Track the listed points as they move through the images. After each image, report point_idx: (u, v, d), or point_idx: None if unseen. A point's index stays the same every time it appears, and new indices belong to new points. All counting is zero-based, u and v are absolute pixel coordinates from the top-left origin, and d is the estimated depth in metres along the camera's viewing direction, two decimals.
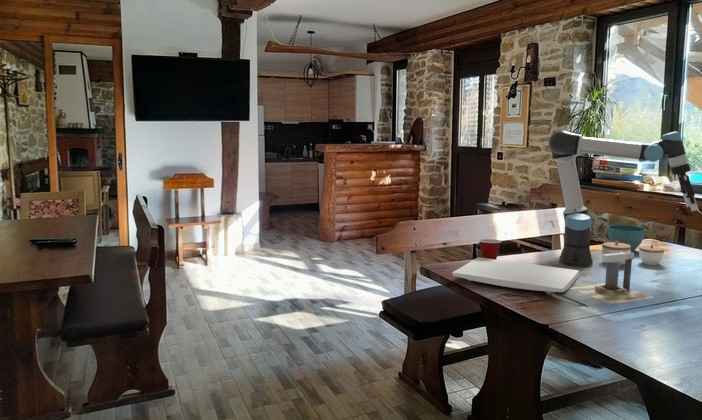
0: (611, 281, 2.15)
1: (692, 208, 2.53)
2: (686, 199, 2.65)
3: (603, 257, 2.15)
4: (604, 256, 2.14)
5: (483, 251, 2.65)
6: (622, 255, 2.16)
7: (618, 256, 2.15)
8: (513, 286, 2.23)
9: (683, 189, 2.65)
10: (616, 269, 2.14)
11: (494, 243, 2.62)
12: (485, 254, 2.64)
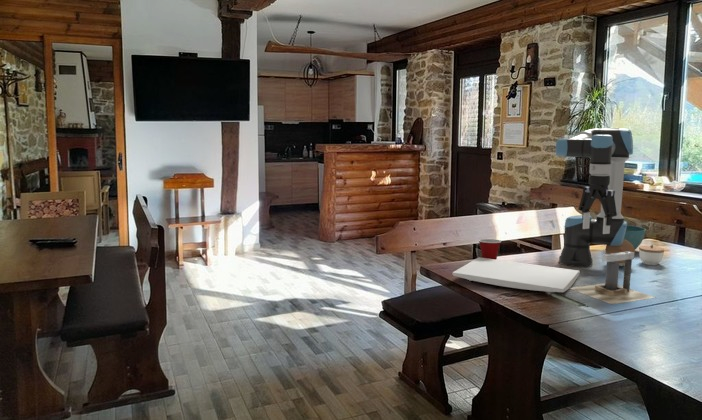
0: (611, 281, 2.15)
1: None
2: None
3: (603, 257, 2.15)
4: (604, 256, 2.14)
5: (483, 251, 2.65)
6: (622, 255, 2.16)
7: (618, 256, 2.15)
8: (513, 286, 2.23)
9: None
10: (616, 269, 2.14)
11: (494, 243, 2.62)
12: (485, 254, 2.64)
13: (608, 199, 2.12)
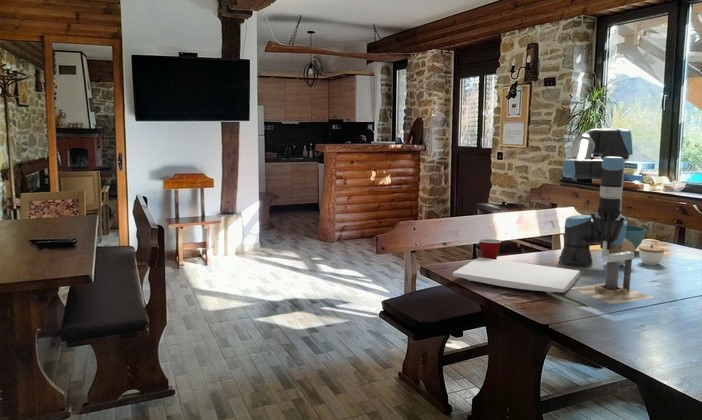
0: (611, 281, 2.15)
1: None
2: None
3: (604, 257, 2.14)
4: (605, 256, 2.14)
5: (483, 251, 2.65)
6: (622, 255, 2.16)
7: (619, 256, 2.15)
8: (514, 286, 2.23)
9: None
10: (616, 269, 2.14)
11: (494, 243, 2.62)
12: (485, 254, 2.64)
13: (618, 225, 2.10)
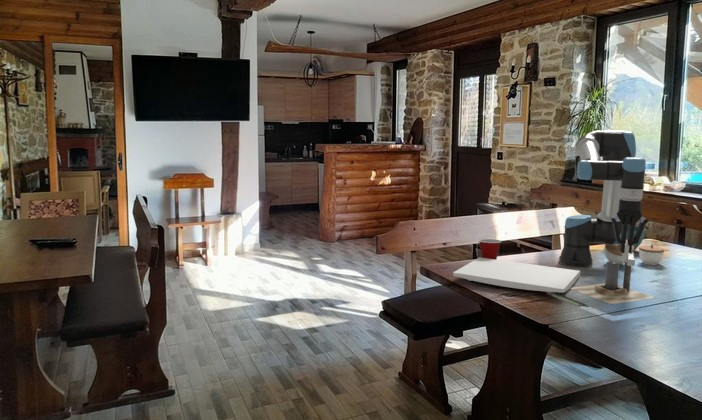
0: (611, 281, 2.15)
1: (622, 257, 2.11)
2: None
3: (629, 262, 2.07)
4: (631, 260, 2.07)
5: (483, 251, 2.65)
6: None
7: None
8: (514, 286, 2.23)
9: (628, 235, 2.09)
10: (616, 269, 2.14)
11: (494, 243, 2.62)
12: (485, 254, 2.64)
13: (642, 227, 2.06)
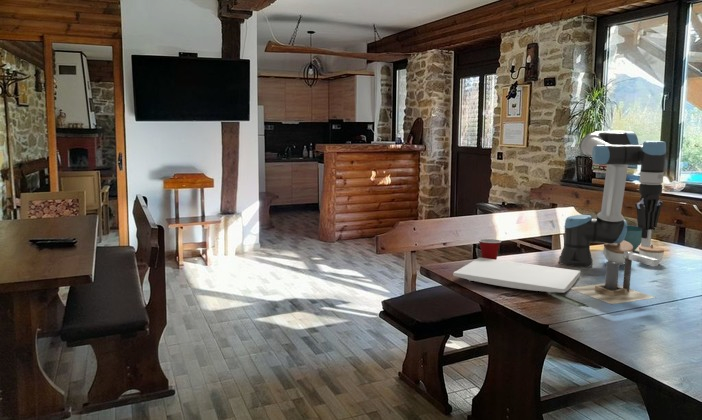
0: (611, 281, 2.15)
1: (642, 243, 2.07)
2: None
3: (655, 262, 2.07)
4: (656, 261, 2.07)
5: (483, 251, 2.65)
6: None
7: None
8: (514, 286, 2.23)
9: None
10: (616, 269, 2.14)
11: (494, 243, 2.62)
12: (485, 254, 2.64)
13: (659, 209, 2.06)
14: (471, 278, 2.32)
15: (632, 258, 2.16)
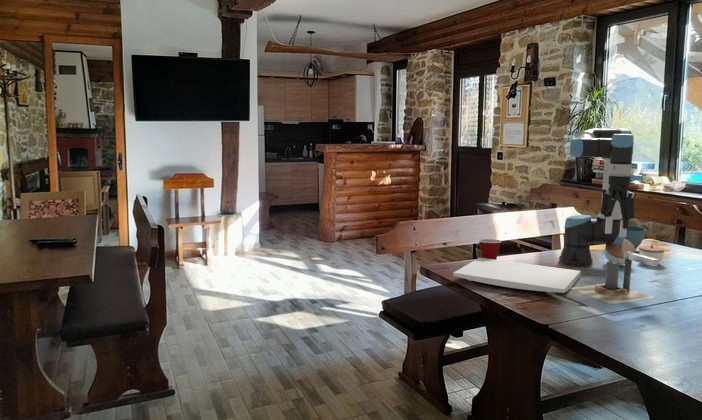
0: (611, 281, 2.15)
1: None
2: None
3: (655, 262, 2.07)
4: (656, 261, 2.07)
5: (483, 251, 2.65)
6: None
7: None
8: (514, 286, 2.23)
9: None
10: (616, 269, 2.14)
11: (494, 243, 2.62)
12: (485, 254, 2.64)
13: (628, 201, 2.06)
14: (471, 278, 2.32)
15: (632, 258, 2.16)
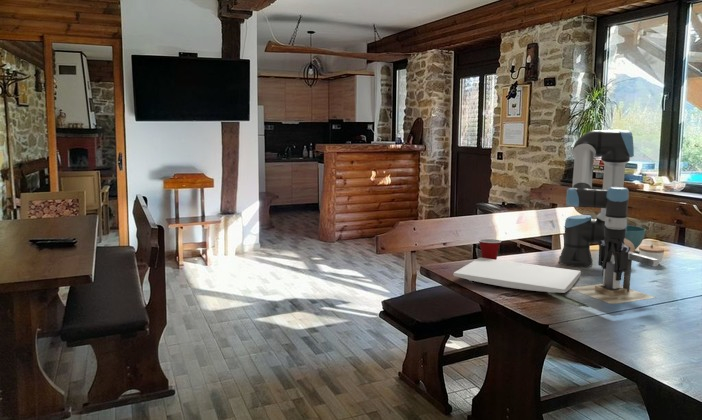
0: (611, 281, 2.15)
1: None
2: None
3: (655, 262, 2.07)
4: (656, 261, 2.07)
5: (483, 251, 2.65)
6: None
7: None
8: (514, 287, 2.23)
9: None
10: None
11: (494, 243, 2.62)
12: (485, 254, 2.64)
13: (622, 255, 2.10)
14: (471, 278, 2.32)
15: (632, 258, 2.16)
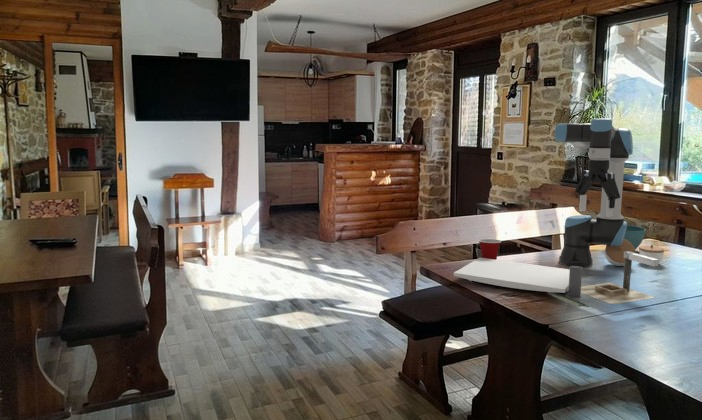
0: (574, 286, 2.11)
1: None
2: None
3: (655, 262, 2.07)
4: (656, 261, 2.07)
5: (483, 251, 2.65)
6: None
7: None
8: (515, 286, 2.23)
9: None
10: (579, 274, 2.10)
11: (494, 243, 2.62)
12: (485, 254, 2.64)
13: (609, 182, 2.08)
14: (471, 278, 2.32)
15: (632, 258, 2.16)
